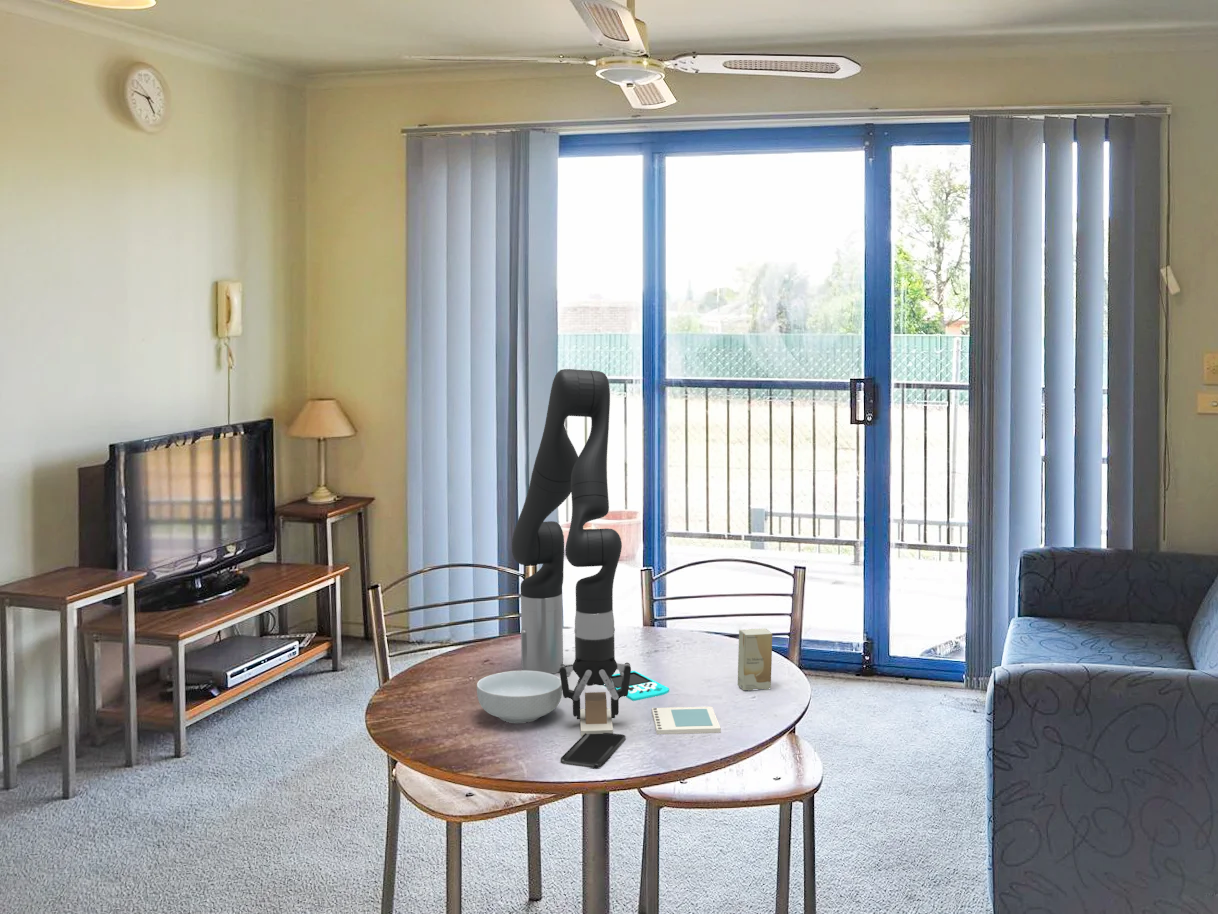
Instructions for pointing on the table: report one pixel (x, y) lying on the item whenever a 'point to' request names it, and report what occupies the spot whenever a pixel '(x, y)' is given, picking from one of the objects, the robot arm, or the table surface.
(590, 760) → the phone
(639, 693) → the handheld game console
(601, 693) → the brown cream block
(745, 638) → the skincare box
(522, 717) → the cereal bowl
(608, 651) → the robot arm
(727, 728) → the table surface
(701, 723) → the ticket pad
